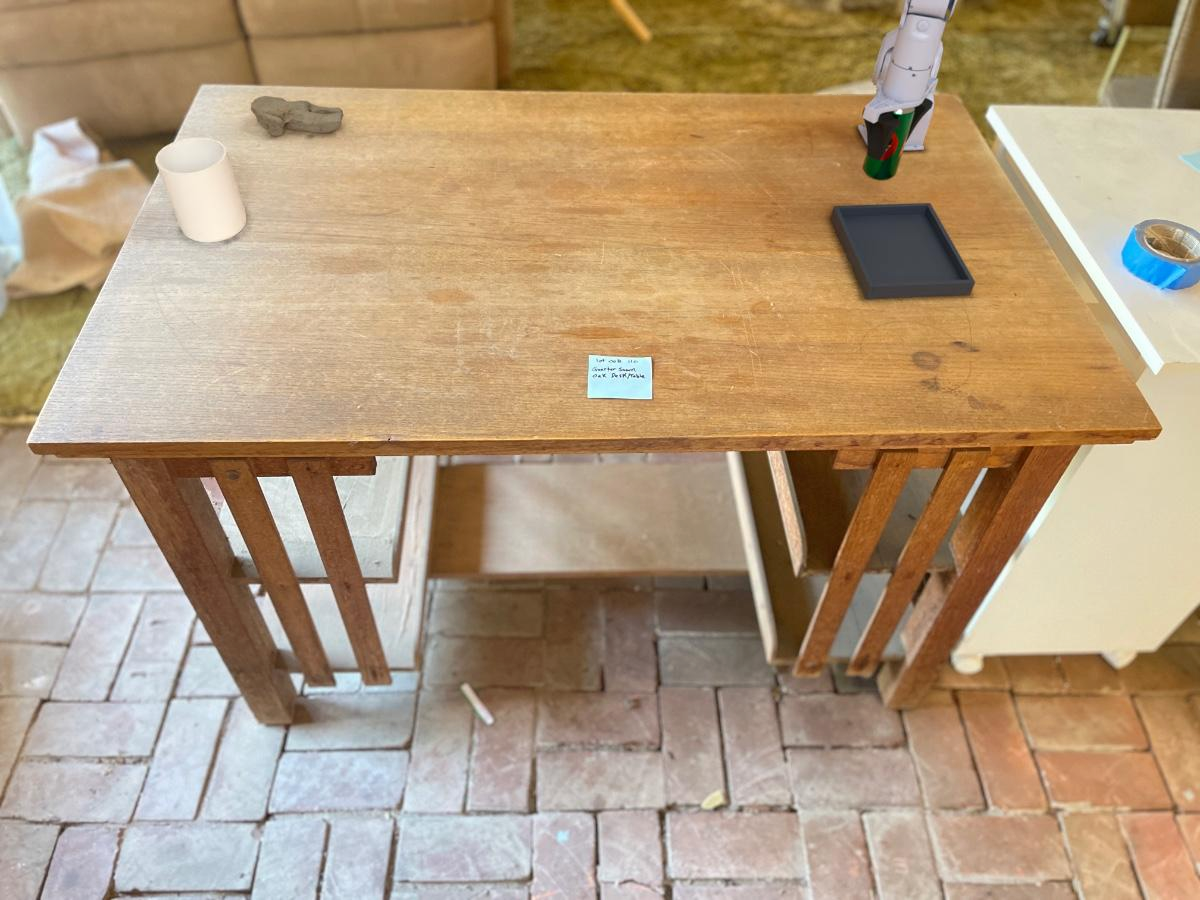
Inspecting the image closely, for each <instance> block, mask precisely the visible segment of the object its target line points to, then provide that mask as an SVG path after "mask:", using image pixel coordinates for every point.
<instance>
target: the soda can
mask: <svg viewBox="0 0 1200 900" xmlns="http://www.w3.org/2000/svg"><path fill="white" fill-rule="evenodd" d="M915 110H916V107H911V108H906V109H901V110H896V111H892V114H893V118H895V119H897V120H899V121H901V122H902V124H901V125H900V126H899V127H898V128H897V129H896V131H895V132H894V134H893V135H892V137H891V139H890V141H889V143H888V146H887V148H886V151H885V153H884V155H883V157H882V158H881V159H880V160H875V159H874V158H872V157H870V156H868V155H867V152H865V157H864V161H863V164H862V171H863V173H864V175H866V176H867V177H868V178H869V179H872V180H875V181H880V182H883V181H889V180H890V179H892V178H894V177H895V176H896V175H897V172H898V169H899V166H900V163H901V159H902V156H903V153H904V151H905V150H904V146H905V143H906V140H907V136H908V133H909V130H910V127H911V123H912V120H913V117H914V113H915ZM903 150H904V151H903Z"/></svg>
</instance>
